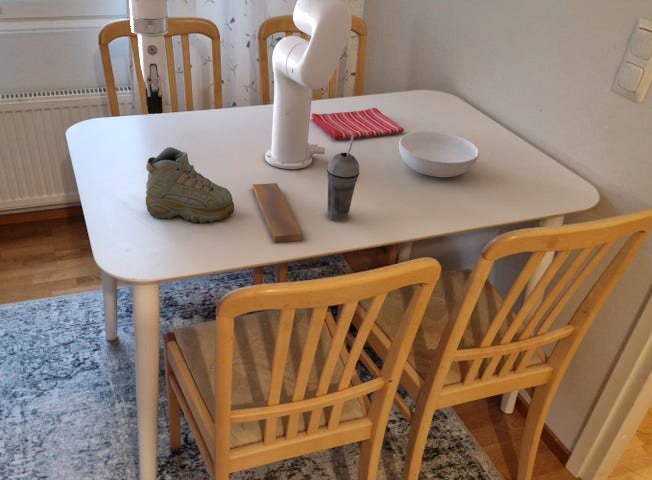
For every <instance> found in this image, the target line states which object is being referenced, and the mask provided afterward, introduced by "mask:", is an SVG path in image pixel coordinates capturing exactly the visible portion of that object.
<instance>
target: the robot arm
mask: <svg viewBox="0 0 652 480" xmlns="http://www.w3.org/2000/svg"><path fill="white" fill-rule="evenodd" d="M128 2H129V13H130V26H131V27H130V28H131V33H133V34H134V35H137V43H138V54H139V61H140V69H141V73H142V78H143V82H144V83H145V86H146V88H145V102H146V108H147V113H148V114H149V115H150V114H153V115H154V114H155V115H156V114H163V112H164V111H163V94H162V90H161V89H162V88H161V83H164V84H166V83H167V82H168V75H167V74H168V73H167V62H166V60H167V59H166V58H167V57H166V44H165V35H167V34H169V15H168V0H129V1H128ZM292 21H293V23H294V26H295V27H296V28H297V29H298V30H299V31H301V32H303V33H304V34H306V35H308V36H310V39H309V41H308V40H306V38H305V39H304V38H302V37H301V36H297V35H288V36H285V37H283V38H281V39H280V40H279V41H278V42H277V43H276V45H275V46H274V48H273V51H272V58H271V59H272V61H271V62H272V71H273V82H274V85H273V86H274V92H273V108H272V109H273V110H272V129H271V147H270V148H269V149H268V150H267V151H265V154H264V159H265V161H266V162H267V164H269V165H271V166H273V167H276V168H279V169H284V170H299V169H304V168H307V167H309V166H310V165H311V164H312V162H313V156H314V155H324V154H325V152H326V147H325V146H318V145H319V144H318V143H311V144H310V143H309V135H310V134H309V132H310V120H311V110H312V101H313V91H317V90H320V89H323V88H324V87H326V86H327V85H328V83H329V82H330V81H331V80H332V79H333V77H334V75H335V72H336V69H337V67H338V65H339V63H340V60H341V58H342V55H343V52H344V50H345V48H346V45H347V43H348V40H349V37H350V34H351V30H352V25H353V17H352V13H351V11H350V8H349V7H348V6H347V5H346V3H345V2H343V1H341V0H297V1H296V3H295V6H294V10H293V14H292Z"/></svg>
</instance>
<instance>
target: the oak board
mask: <svg viewBox="0 0 652 480" xmlns="http://www.w3.org/2000/svg"><path fill="white" fill-rule="evenodd" d="M252 193H253V195H254V197H255V200H256V202H257V205H258V207H259V210H260V212H261V214H262V216H263V218H264V221H265V224H266V226H267V228H268V231H269V233H270V235H271V238H272V240H273V242H274V243H275V244H276V243H288V242H301V241H302V240H303V239H302V238H303V233H302V232H301V230H300V227H299V225H298V224H297V223H298V222H297V221H296V219H295V217H294V215H293V213H292V211H291V209H290V206H289V205H288V203H287V202H286V199H285V197H284V195H283V193H282V191H281V189H280V186H279V185H278V183H277V182H272V183H253V184H252Z"/></svg>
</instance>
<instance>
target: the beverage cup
mask: <svg viewBox="0 0 652 480" xmlns="http://www.w3.org/2000/svg"><path fill="white" fill-rule="evenodd" d="M354 139H355V138H354V135H352V137H351V139H350V142H349V145H348V149H347V152H339V153H336V154H335V155H334V156H332V157H331V159H330V160H329V162H328V164H327V168H326V172H327V173H326V175H327V217H328V219H329V220H331V221H333V222H345V221H346V220H348V217H349V213H350V210H351V209H350V208H351V204H352V201H353V196H354V192H355V187H356V183H358V182H357V181H358V179H359V176H360V165H359V162H358V160H357V158H356V157H355V156H354V155H352V154H351V150H352V147H353V142H354Z"/></svg>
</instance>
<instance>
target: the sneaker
mask: <svg viewBox="0 0 652 480" xmlns="http://www.w3.org/2000/svg"><path fill="white" fill-rule="evenodd" d="M145 169H146V170H147V172H148V175H147V181H146V191H145V194H146V195H145V206H146V210H147V212H148V213H149V215H150V216H151V217H154V218H155V219H161V220H165V219H167V220H171V219H172V218H175V217H176V216H180V217H182V218H183V219H184V220H185V221H187V222H192V223H194V224H198V223H199V222H200V223H201V224H207V223H208V222H209V223H215V222H216V221H221V220H223V219H225V218H226V217H229V216H230V215H233V213H234V211H235V202H234V200H233V196H232V193H231V192H230V190H229V189H228V188H226V187H223V186H221V185H218V184H216V183H215V182H212V181H211V180H210V179H209V178H207V177H205V176H203V174H201V173H200V172H197V171H196V169H195V165H194V164H190V161H189V155H188V152H187V151H181V150H180V149H177V148H176V147H171V146H169V147H168V146H167V147H165V148H164V149H163V150H162V151H161V152H160V153H159V154H158V155H157V156H156V157H155V156H154V157H153V156H152V157H148V158H147V162H146V168H145Z"/></svg>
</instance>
